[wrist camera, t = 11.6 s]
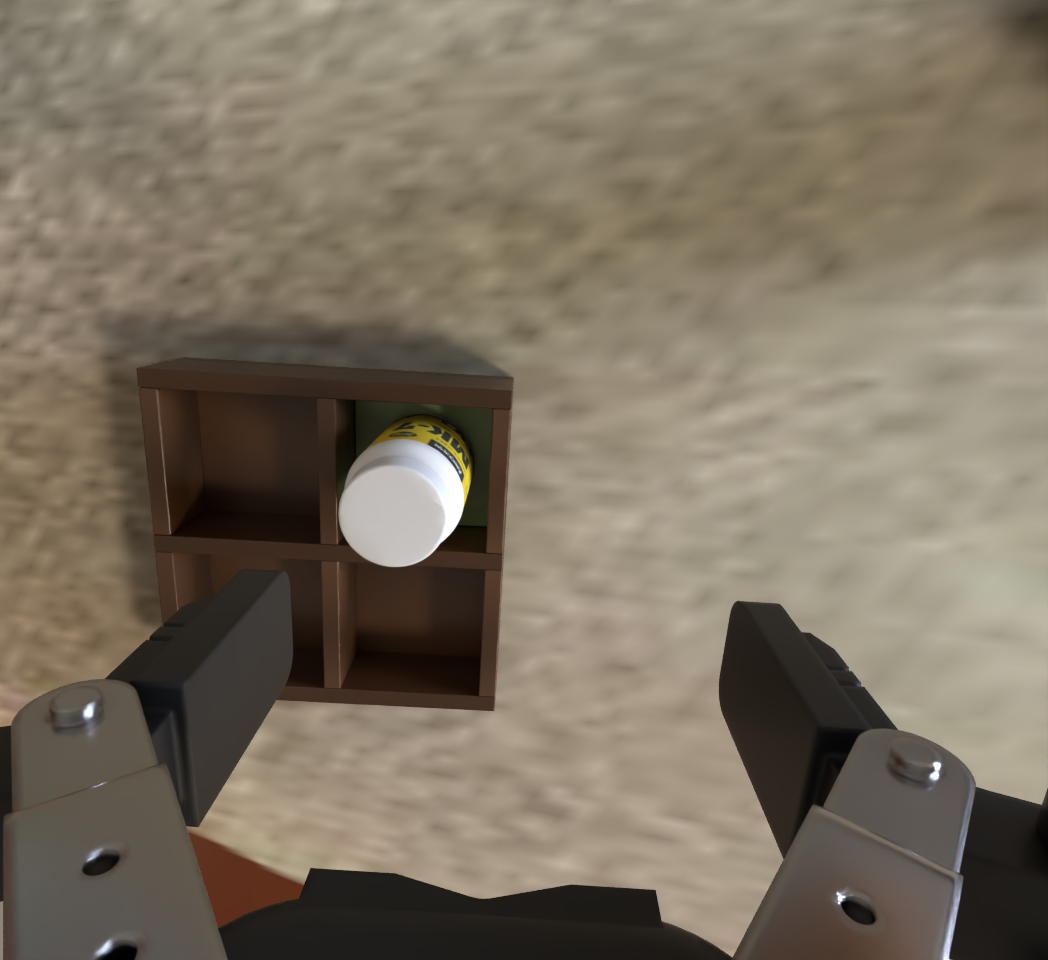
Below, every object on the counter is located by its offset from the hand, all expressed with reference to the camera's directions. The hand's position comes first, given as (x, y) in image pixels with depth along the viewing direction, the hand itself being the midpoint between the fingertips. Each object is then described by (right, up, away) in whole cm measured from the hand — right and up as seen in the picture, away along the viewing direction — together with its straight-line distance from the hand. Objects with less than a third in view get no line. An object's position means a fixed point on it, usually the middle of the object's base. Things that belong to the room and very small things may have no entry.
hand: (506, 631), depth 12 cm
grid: (-8, +1, +22) cm, 24 cm away
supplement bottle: (-4, +4, +20) cm, 21 cm away
